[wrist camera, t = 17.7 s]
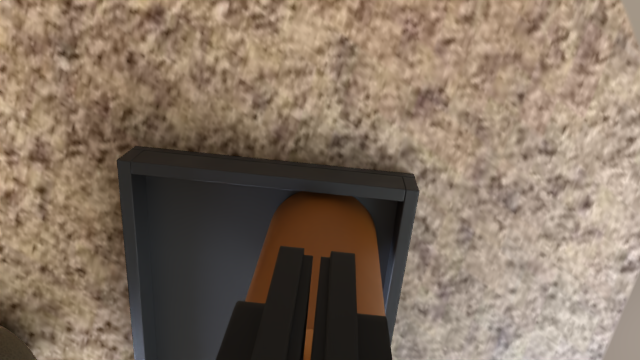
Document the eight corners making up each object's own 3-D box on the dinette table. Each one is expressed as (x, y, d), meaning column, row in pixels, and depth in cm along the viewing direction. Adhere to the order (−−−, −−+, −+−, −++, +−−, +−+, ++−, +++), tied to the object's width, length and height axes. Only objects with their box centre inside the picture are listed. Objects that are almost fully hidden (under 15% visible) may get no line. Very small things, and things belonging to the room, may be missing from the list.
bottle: (383, 193, 29) (428, 468, 13) (369, 286, 32) (390, 612, 15) (271, 182, 29) (172, 439, 13) (266, 275, 32) (180, 587, 16)
